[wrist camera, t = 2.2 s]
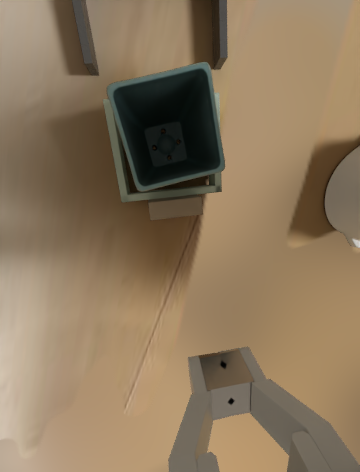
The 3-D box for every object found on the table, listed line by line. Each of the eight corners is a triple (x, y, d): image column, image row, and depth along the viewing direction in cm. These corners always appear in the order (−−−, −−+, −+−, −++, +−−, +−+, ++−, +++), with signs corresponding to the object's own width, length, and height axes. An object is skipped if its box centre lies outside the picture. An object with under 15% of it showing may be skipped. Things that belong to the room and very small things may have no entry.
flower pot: (142, 187, 27) (137, 193, 18) (122, 116, 24) (103, 83, 15) (204, 171, 27) (226, 170, 19) (190, 99, 24) (209, 59, 16)
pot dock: (218, -24, 21) (226, -49, 19) (220, 69, 24) (227, 57, 21) (73, -23, 20) (61, -50, 17) (91, 75, 22) (84, 63, 20)
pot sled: (211, 102, 24) (229, 80, 19) (215, 203, 28) (230, 211, 23) (109, 108, 23) (94, 87, 18) (127, 213, 27) (120, 224, 22)
